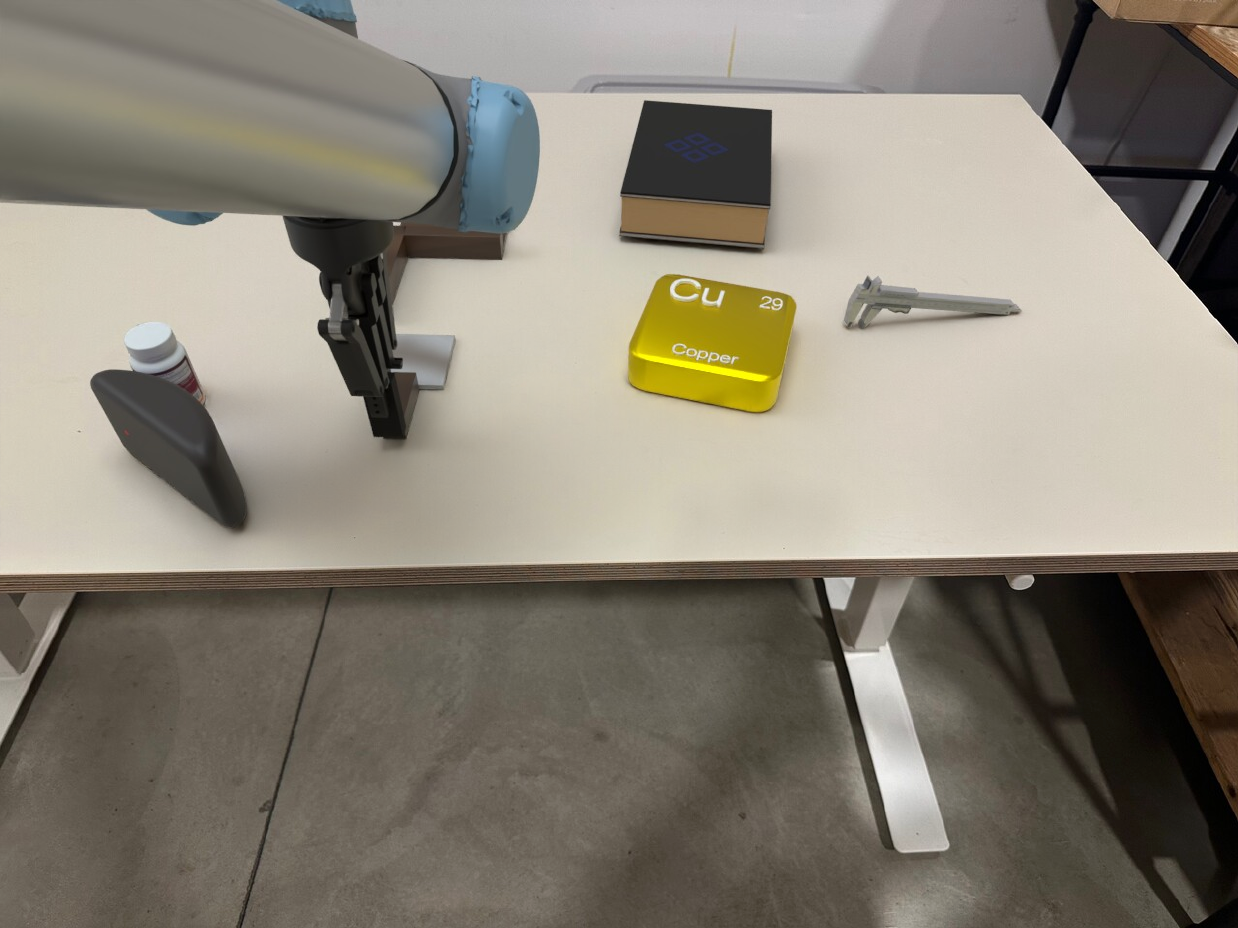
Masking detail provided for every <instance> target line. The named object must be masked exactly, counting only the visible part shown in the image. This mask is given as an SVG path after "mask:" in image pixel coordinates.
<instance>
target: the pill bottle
mask: <svg viewBox="0 0 1238 928" xmlns="http://www.w3.org/2000/svg"><path fill="white" fill-rule="evenodd" d="M123 343H124V347H125V348H126V350H127V352H128V354H129V357H128V360H129V361H128V363H129V367H130V368H131V371H136V372H142V373H147V374H150V375H154V376H157V377H160V378H163V379H165V380H168V381H170V382H172V383H174V384H176V385H178V386H180V387H182V388H183V389H185V390H186V391H188V392H189V393H190V394H192V395H193V396H194V397H195V398H196V399H197V400H198V401H199V402H200V403H201V404H202V405H203V406H204V404H205V402H206V393H205V391H204V389H203V387H202V384H201V382H200V379H199V378H198V375H197V373H196V371H195V368H194V366H193V364H192V361H191V359H190V356H189V355H188V352H187V350H186V348H185V346H184V345H183V343H182V342H181V341H179V340H177V337H176V335H175V333H174V331H173V329H172V327H171V326H170V325H169V324H168V323H165V322H162V321H148V322H143V323H140V324H137V325H135V326H133V327H132V328H130V329H129V330H128V331H127V332H126V333H125V335H124V337H123Z"/></svg>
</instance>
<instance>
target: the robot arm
mask: <svg viewBox="0 0 1238 928" xmlns="http://www.w3.org/2000/svg"><path fill="white" fill-rule="evenodd" d="M357 23H358V20H357V16H356V14H355V11H354V8H353V4H352V0H0V204H19V205H20V204H22V205H43V206H65V207H83V208H84V207H85V208H108V209H128V210H129V209H130V210H146V211H147V212H149V213H150V214H153V215H154V216H156V217H158V218H160V219H162V220H164V221H167V222H170V223H173V224H176V225H182V226H198V225H205V224H206V223H210V222H213V221H215V220H216V219H217V218H219V217H220V216H222V215H223V214H237V215H238V214H239V215H259V216H261V215H262V216H279V217H282V219H283V223H284V227H285V231H286V234H287V237H288V240H289V241H288V242H289V243H290V247H291V249H292V251H293V253H295V255H296V256H298V257H299V258H300V259H301V260H303V261H305V262H306V263H308V264H310V265H312V266H314V268H316V269H318V270H319V271H320V273H319V275H318V281H319V282H318V283H319V286H320V290H321V293H322V295H323V297H324V299H325V300H326V301H327V304H328V307H329V317H325V318H324V319H322V318H321V319H319V320H318V321H317V333H318V335H319V336H320V337H321V338H322V340H324V342H326V343H327V346H328V347H329V350H330V352H331V355H332V356H333V359H334V361H335V363H336V366H337V368H338V370H339V373H340V375H341V377H342V379H343V381H344V384H345V386H346V388H347V391H348V392H349V395H350V396H351V397H359V398H360V397H362V398H363V402H364V406H365V409H366V413H367V417H368V422H369V426H370V428H371V433H372V437H373V438H383V437H389V438H404V434H405V430H406V423H405V418H404V414H403V409H402V405H401V400H400V395H399V391H398V386H397V382H396V377H395V373H394V372H391V369H402V367H403V358H394V356H393V351H392V350H396V347H397V344H398V342H397V339H396V334H397V331H396V323H395V317H394V316H395V315H394V308H393V304H392V300H391V292H390V284H389V276H388V268H387V248H388V247H389V246H390V244H391V243H392V240H393V238H394V226H395V225H394V223H401V222H402V223H418V224H426V225H432V226H439V227H445V228H451V229H457V230H459V231H461V232H466V233H467V232H468V231H478V232H488V233H498V234H502V233H507V234H508V233H511V232H512V231H515V230H516V229H517V228H518V227H519V226H520V225H521V224H522V223H523V221H524V220H525V219H526V217H527V215H528V213H529V211H530V208H531V205H532V203H533V199H534V196H535V192H536V188H537V183H538V176H539V167H540V155H541V139H540V137H541V136H540V126H539V122H538V121H539V120H538V116H537V112H536V109H535V107H534V105H533V102H532V100H531V99H530V98H529V96H528V95H527V93H526V92H525V91H523V90H522V89H520V88H519V87H517V86H513V85H509V84H503V83H497V82H492V81H485V80H483V79H482V78H481V77H480V76H474V75H472V76H471V78H467V77H457V76H450V75H446V74H439V73H435V72H432V71H431V70H429V69H427V68H424V67H422V66H420V65H418V64H416V63H413V62H410V61H407V60H404V59H401V58H399V57H397V56H395V55H393V54H391V53H389V52H387V51H385V50H382V49H381V48H378V47H376V46H374V45H372V44H370V43H367V42H366V41H364V40H361V39H359V35H358V29H357ZM389 438H388V439H389Z"/></svg>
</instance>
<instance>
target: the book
mask: <svg viewBox="0 0 1238 928" xmlns="http://www.w3.org/2000/svg"><path fill="white" fill-rule="evenodd" d="M772 138H773V109H767V108H766V109H765V108H754V107H753V108H751V107H739V106H725V105H713V104H712V105H711V104H700V103H686V102H674V101H673V102H672V101H659V100H646V99H644V100H643V103H642V107H641V111H640V115H639V119H638V122H637V127H636V130H635V134H634V138H633V142H632V146H631V150H630V153H629V158H628V161H627V166H626V169H625V172H624V177H623V180H622V185H621V188H620V189H621V190H620V193H619V197H620V198H621V216H620V217H621V218H620V219H621V221H620V227H619V231H618V232H619V235H618V237H625V238H636V239H649V240H658V241H659V240H660V241H672V242H682V243H693V244H705V245H706V244H707V245H715V246H727V247H738V248H752V249H760V250H761V249H762V250H763V249H765V239H766V238H765V237H766V230H767V224H768V217H769V212H770V210H771V207H772V147H773V145H772V144H773V143H772V142H773V139H772Z"/></svg>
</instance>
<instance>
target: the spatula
mask: <svg viewBox="0 0 1238 928" xmlns="http://www.w3.org/2000/svg"><path fill="white" fill-rule="evenodd" d="M396 339H397V342H398V344H397V347H396V350H392V351H393V356H394V358H403V367H402V369H391V372H394V373H395V377H396V382H397V386H398V391H399V395H400V400H401V405H402V409H403V414H404V418H405V423H406V430H405V434H404V438H389V437H382V439H393V440H394V439H395V440H397V439H398V440H406V439H407V437H408V435H409V431H410V427H411V423H412V419H413V415H414V411H415V407H416V403H417V399H418V396H419V392H420V390H438V391H439V390H442V391H443V390H444V389H445V385H446V382H447V377H448V372H449V368H450V365H451V362H452V361H451V360H452V356H453V352H454V348H455V344H456V335H454V334H425V333H424V334H421V333H419V334H417V333H396Z"/></svg>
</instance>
